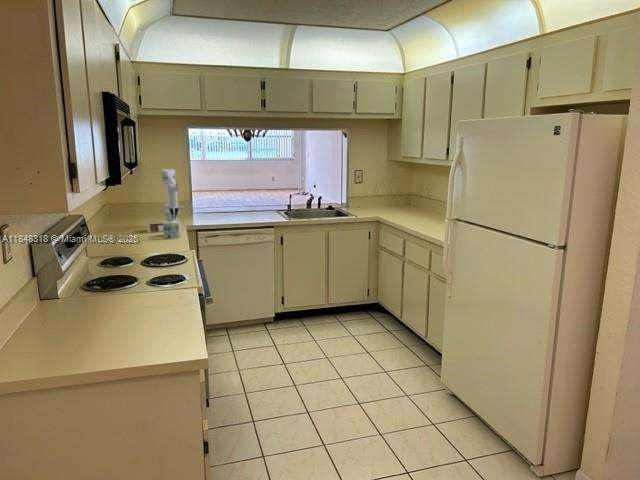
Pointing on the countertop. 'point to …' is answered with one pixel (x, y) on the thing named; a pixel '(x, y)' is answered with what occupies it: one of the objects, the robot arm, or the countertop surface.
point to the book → (160, 228)
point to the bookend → (148, 226)
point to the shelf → (155, 227)
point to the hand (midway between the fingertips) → (174, 219)
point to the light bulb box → (171, 229)
